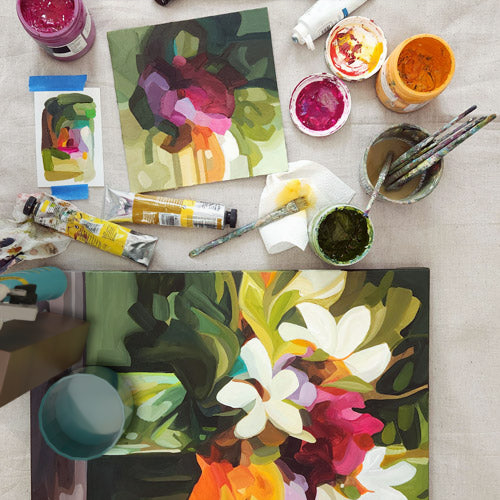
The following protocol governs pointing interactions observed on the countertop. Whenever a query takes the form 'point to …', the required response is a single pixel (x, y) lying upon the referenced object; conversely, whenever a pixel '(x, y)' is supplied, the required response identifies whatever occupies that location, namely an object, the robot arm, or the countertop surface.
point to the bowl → (86, 412)
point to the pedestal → (38, 351)
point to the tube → (38, 282)
